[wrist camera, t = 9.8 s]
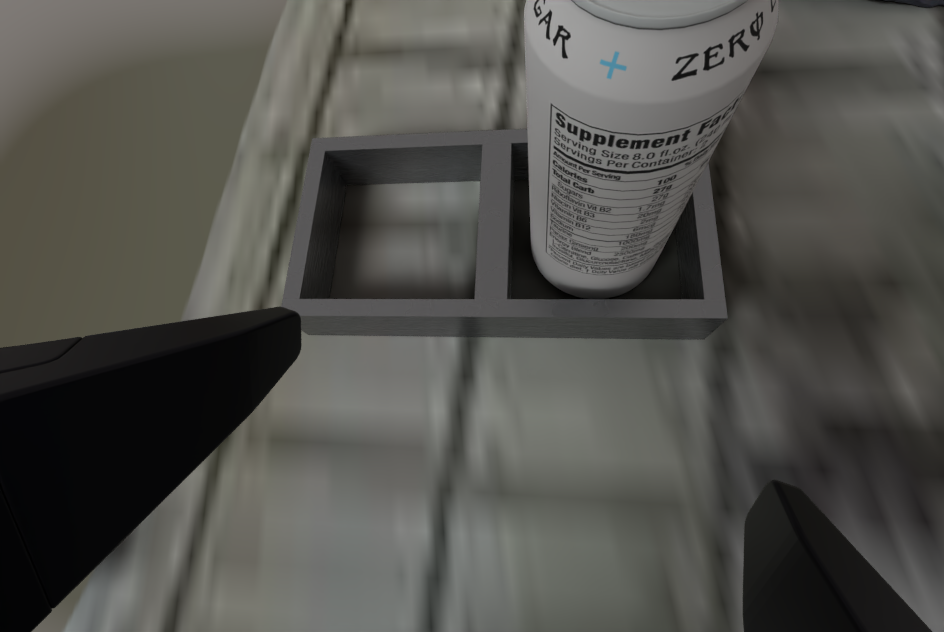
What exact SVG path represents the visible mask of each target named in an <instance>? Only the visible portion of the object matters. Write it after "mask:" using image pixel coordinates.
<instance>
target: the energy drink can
mask: <svg viewBox="0 0 944 632" xmlns="http://www.w3.org/2000/svg"><path fill="white" fill-rule="evenodd" d="M777 23H778V0H526V4H525V9H524V30H525V63H526V97H527V130H528V164H529V197H530V231H531V251H532V255H533V259H534V261H535V263H536V265H537V267H538V269H539V271H540V272H541V273H542V274H543V276H544V277H545V278H546V279H547V280H548V281H549V282H550V283H551V284H553V285H554V286H555V287H556V288H558V289H560V290H562V291H564V292H565V293H568V294H571V295H573V296H576V297H580V298H587V299H606V298H611V297H615V296H619V295H621V294H623V293H626V292H628V291H630V290H632V289H633V288H635V287H636V286H638V285H639V284H640V283H641V282H642V281H643V280H644V279H645V278H646V277H647V276H648V275H649V273H650V272H651V270H652V268H653V267H654V265H655V263H656V261H657V259H658V258H659V256H660V254H661V252H662V250H663V248H664V246H665V244H666V242H667V240H668V238H669V236H670V235H671V233H672V231H673V229H674V227H675V225H676V223H677V221H678V219H679V217H680V215H681V214H682V212H683V210H684V208H685V206H686V204H687V202H688V200H689V198H690V196H691V194H692V192H693V191H694V189H695V187H696V185H697V183H698V181H699V179H700V177H701V175H702V173H703V171H704V170H705V168H706V166H707V164H708V162H709V160H710V158H711V156H712V154H713V152H714V150H715V148H716V147H717V145H718V143H719V141H720V139H721V137H722V135H723V133H724V131H725V129H726V127H727V126H728V124H729V122H730V120H731V118H732V116H733V114H734V112H735V110H736V108H737V106H738V104H739V103H740V101H741V99H742V97H743V95H744V93H745V91H746V89H747V87H748V85H749V83H750V82H751V80H752V78H753V76H754V74H755V72H756V70H757V68H758V66H759V64H760V62H761V60H762V59H763V57H764V55H765V53H766V51H767V49H768V47H769V45H770V43H771V41H772V38H773V35H774V32H775V29H776V26H777Z"/></svg>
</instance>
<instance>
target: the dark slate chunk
mask: <svg viewBox="0 0 944 632" xmlns="http://www.w3.org/2000/svg"><path fill="white" fill-rule="evenodd" d="M885 1H894V2H899V3H907V4H912V5H916V6H919V7H933V6H937V5H939V6H944V0H885Z"/></svg>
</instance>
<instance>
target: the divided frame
mask: <svg viewBox="0 0 944 632" xmlns="http://www.w3.org/2000/svg"><path fill="white" fill-rule="evenodd" d="M520 179H529V164H528V130H527V129H509V130H487V131H465V132H442V133H420V134H398V135H376V136H354V137H332V138H312V143H311V148H310V154H309V159H308V165H307V170H306V176H305V181H304V186H303V192H302V197H301V203H300V208H299V214H298V219H297V224H296V230H295V235H294V241H293V246H292V251H291V257H290V262H289V268H288V273H287V279H286V284H285V289H284V295H283V300H282V306H281V307H284V308H287V309H290V310H293V311H295V312H297V313H298V314H299V315H300V317H301V330H302V331H304V332H305V333H307V334H308V335H363V336H449V337H535V338H622V339H705V338H706V337H707V336H709V335H710V334H711V333H712V332H713V331H714V330H715V329H716V328H717V327H719V326H720V325H721V324H722V323H723V322H724V321H725V320H726V319H727V318H728V316H727V308H726V300H725V292H724V284H723V276H722V268H721V260H720V252H719V243H718V235H717V227H716V219H715V211H714V203H713V195H712V187H711V178H710V170H709V162H708V164H707V166H706V168H705V170H704V171H703V173H702V175H701V177H700V179H699V181H698V183H697V185H696V187H695V189H694V191H693V192H692V194H691V196H690V198H689V200H688V202H687V204H686V206H685V208H684V210H683V212H682V214H681V215H680V217H679V219H678V221H677V223H676V225H675V230H676V241H677V252H678V262H679V273H680V284H681V295H682V299H511V291H512V252H513V213H514V180H520ZM456 181H481V182H480V202H479V221H478V241H477V260H476V280H475V299H329V297H330V290H331V284H332V277H333V271H334V264H335V258H336V251H337V244H338V238H339V231H340V225H341V218H342V212H343V205H344V198H345V192H346V185H360V184H392V183H424V182H456Z"/></svg>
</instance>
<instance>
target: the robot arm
mask: <svg viewBox="0 0 944 632" xmlns="http://www.w3.org/2000/svg"><path fill="white" fill-rule="evenodd" d="M300 350H301V317H300V315H299V314H298V313H297V312H295V311H293V310H290V309H287V308H284V307H274V308H268V309H261V310H254V311H248V312H241V313H234V314H228V315H221V316H215V317H208V318H201V319H195V320H188V321H182V322H175V323H169V324H162V325H156V326H149V327H142V328H135V329H129V330H123V331H116V332H109V333H103V334H96V335H90V336H85V337H84V338H81V337H75V338H69V339H62V340H56V341H48V342H42V343H35V344H27V345H20V346H12V347H3V348H0V632H31V631H32V630H33V629H35V627H36V626H38V624H40V623H41V622H42V621H43V620H44V619H45V618H46V617H47V616H48V615H49V614H50V613H51V611H52V608H55V607H56V606H57V605H58V604H59V603H60V602H61V601H62V600H63V599H64V598H65V597H66V596H67V595H68V594H69V593H70V592H71V591H72V590H73V589H74V588H75V587H76V586H78V585H79V584H80V583H81V581H83V580H84V579H85V578H86V577H87V576H88V575H89V574H90V573H91V572H92V571H93V570H94V569H95V568H96V567H97V566H98V565H99V564H100V563H101V562H102V561H103V560H104V559H105V558H106V557H107V556H108V555H109V554H110V553H111V552H112V551H113V550H114V549H115V548H116V547H117V546H118V545H119V544H120V543H121V542H122V541H123V540H124V539H125V538H126V537H127V536H128V535H129V534H130V533H131V532H132V531H133V530H134V529H135V528H136V527H137V526H138V525H139V524H140V523H141V522H142V521H143V520H144V519H145V518H146V517H147V516H148V515H149V514H150V513H151V512H152V511H153V510H154V509H155V508H156V507H157V506H158V505H159V504H160V503H161V502H162V501H163V500H164V499H165V498H166V497H167V496H168V495H169V494H170V493H171V492H172V491H173V490H174V489H175V488H176V487H177V486H178V485H180V484H181V483H182V482H183V481H184V480H185V479H186V478H187V477H188V476H189V475H190V474H191V473H192V472H193V471H194V470H195V469H196V468H197V467H198V466H199V465H200V464H201V463H202V462H203V461H204V460H205V459H206V458H207V457H208V456H209V455H210V454H211V453H212V452H213V451H214V450H215V449H216V448H217V447H218V446H219V445H220V444H221V443H222V442H223V441H224V440H225V439H226V438H227V437H228V436H229V435H230V434H231V433H232V432H233V431H234V430H235V429H236V428H237V427H238V426H239V425H240V424H241V423H242V422H243V421H244V420H245V419H246V418H247V417H248V416H249V415H250V414H251V413H252V412H253V411H254V409H255V408H256V407H257V406H258V405H259V404H260V403H261V401H262V400H263V399H264V398H265V397H266V395H267V394H268V393H269V392H270V390H271V389H272V388H273V387H274V386H275V384H276V383H277V382H278V381H279V380H280V378H281V377H282V376H283V375H284V373H285V372H286V371H287V370H288V369H289V367H290V366H291V365H292V364H293V362H294V361H295V360H296V359H297V357H298V355H299V353H300ZM743 625H744V632H932V631H931V630H930V629H929V628H928V626H927V625H926V624H925V623H924V622H923V621H922V620H921V619H920V618H919V617H918V616H917V615H916V613H915V612H914V611H913V610H912V609H911V608H910V607H909V606H908V605H907V604H906V603H905V602H904V600H903V599H902V598H901V597H900V596H899V595H898V594H897V593H896V592H895V591H894V590H893V589H892V587H891V586H890V585H889V584H888V583H887V582H886V581H885V580H884V579H883V578H882V577H881V576H880V574H879V573H878V572H877V571H876V570H875V569H874V568H873V567H872V566H871V565H870V564H869V563H868V561H867V560H866V559H865V558H864V557H863V556H862V555H861V554H860V553H859V552H858V551H857V550H856V548H855V547H854V546H853V545H852V544H851V543H850V542H849V541H848V540H847V539H846V538H845V537H844V535H843V534H842V533H841V532H840V531H839V530H838V529H837V528H836V527H835V526H834V525H833V524H832V523H831V521H830V520H829V519H828V518H827V517H826V516H825V515H824V514H823V513H822V512H821V511H820V510H819V508H818V507H817V506H816V505H815V504H814V503H813V502H812V501H811V500H810V499H809V498H808V497H807V495H806V494H805V493H804V492H803V491H802V490H801V489H799V488H797V487H795V486H792V485H789V484H786V483H783V482H780V481H778V480H772V481H769V482H768V483H767V484H766V485H765V487H764V488H763V490H762V492H761V493H760V495H759V496H758V498H757V499H756V501H755V503H754V504H753V506H752V507H751V509H750V511H749V512H748V514H747V517H746V521H745V529H744V569H743Z"/></svg>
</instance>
